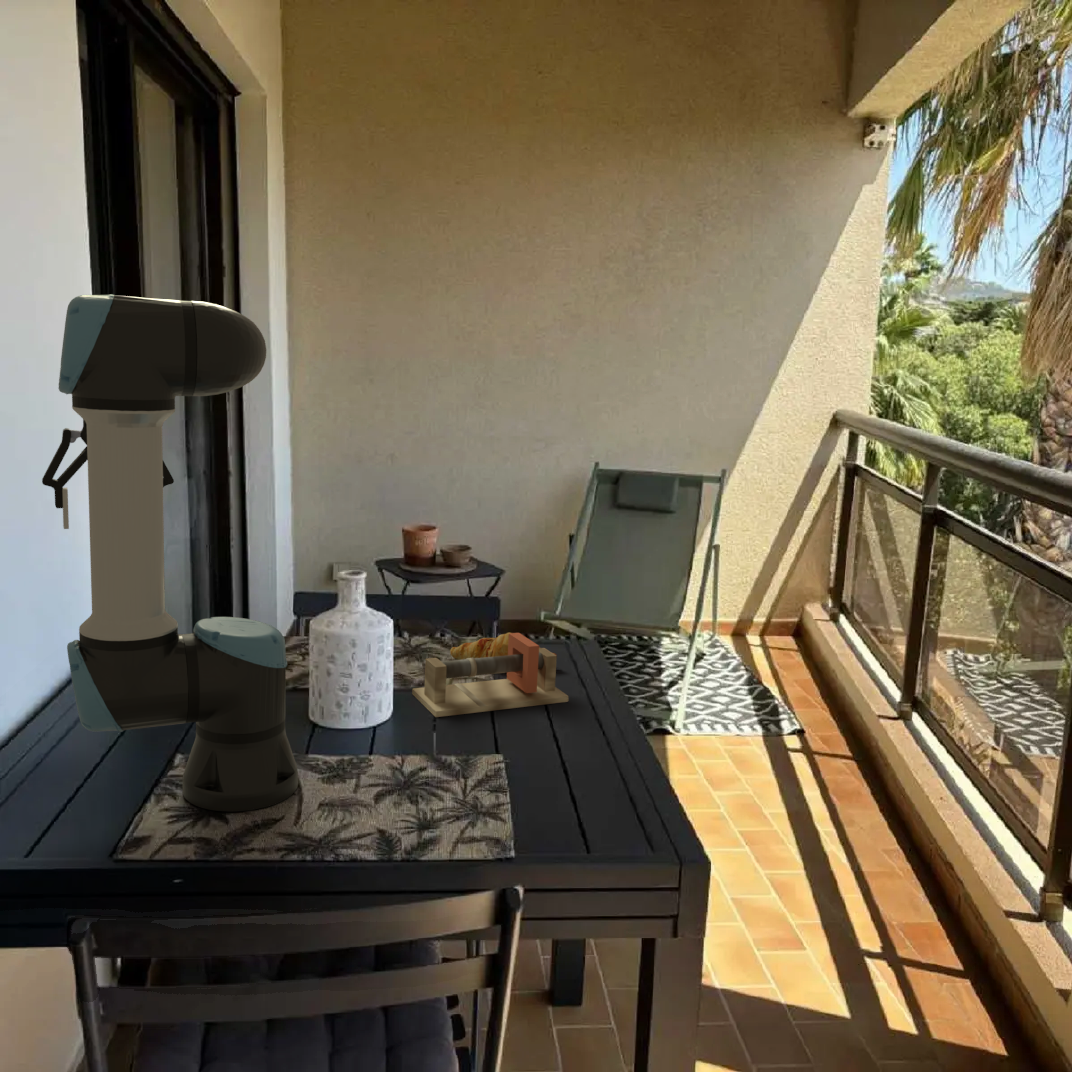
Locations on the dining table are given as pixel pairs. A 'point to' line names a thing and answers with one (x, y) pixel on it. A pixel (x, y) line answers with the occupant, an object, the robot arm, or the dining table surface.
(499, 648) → the croissant
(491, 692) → the pipe jig
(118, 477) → the robot arm
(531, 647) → the ring
